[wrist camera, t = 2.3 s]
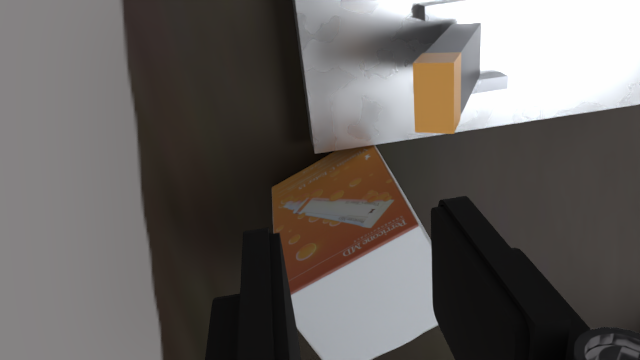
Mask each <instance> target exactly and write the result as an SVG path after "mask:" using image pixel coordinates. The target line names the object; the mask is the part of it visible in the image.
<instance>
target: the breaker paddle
mask: <svg viewBox="0 0 640 360" xmlns="http://www.w3.org/2000/svg"><path fill="white" fill-rule="evenodd" d="M480 55H481V23H461V24H452V25H451V26H450V27H449V28H448V29H447V30H446V31H445V32H444V33H443V34H442V35H441V36H440V37H439V38H438V39H437V40H436V42H435V43H434V44H433V45H432V46H431V47H430V48H429V49H428V50H427V51H426V52H425V53H422V54H421V55H420V56H419V57H418V58H417V59H416V60H415V61H414V62H413V88H414V118H415V132H419V133H444V134H454V132H455V130H456V128H457V126H458V124H459V122H460V120H461V114H462V112H463V110H464V108H465V106H466V104H467V102H468V100H469V97H470V95H471V93H472V91H473V89H474V87H475V85H476V83H477V81H478V79H479V77H480Z"/></svg>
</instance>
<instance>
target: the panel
mask: <svg viewBox="0 0 640 360" xmlns="http://www.w3.org/2000/svg"><path fill="white" fill-rule="evenodd" d="M292 3H293V10H294V18H295V25H296V33H297V40H298V48H299V55H300V63H301V70H302V78H303V86H304V93H305V101H306V108H307V116H308V123H309V131H310V138H311V141H312V145H313V148H314V152H315V154H317V153H324V152H330V151H337V150H343V149H350V148H356V147H363V146H369V145H376V144H383V143H389V142H396V141H402V140H409V139H415V138H422V137H428V136H435V135H441V134H444V133H419V132H415V118H414V88H413V62H414V61H415V60H416V59H417V58H418V57H419V56H420V55H421V54H422V53H425V52H426V51H427V50H428V49H429V48H430V47H431V46H432V45H433V44H434V43H435V42H436V40H437V39H438V38H439V37H440V36H441V35H442V34H443V33H444V32H445V31H446V30H447V29H448V28H449V27H450V26H451V25H452V24H461V23H481V55H480V77H479V79H478V81H477V83H476V85H475V87H474V89H473V91H472V93H471V95H470V97H469V100H468V102H467V104H466V106H465V108H464V110H463V112H462V114H461V120H460V122H459V124H458V126H457V128H456V130H455V132H461V131H468V130H474V129H481V128H487V127H494V126H500V125H507V124H513V123H520V122H526V121H533V120H540V119H546V118H553V117H559V116H566V115H572V114H579V113H585V112H592V111H598V110H605V109H612V108H618V107H625V106H631V105H638V104H640V0H292ZM455 132H454V133H455Z"/></svg>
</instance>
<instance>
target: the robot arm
mask: <svg viewBox="0 0 640 360" xmlns="http://www.w3.org/2000/svg"><path fill="white" fill-rule="evenodd" d="M431 250H432V302H433V311H434V315H435V318H436V320H437V323H438V325H439V327H440V329H441V331H442V333H443V335H444V337H445V339H446V341H447V343H448V345H449V347H450V350H451V352H452V354H453V356H454V358H455V360H640V333H637V332H635V331H631V330H627V329H622V328H617V327H600V328H595V329H590V328H589V327H588V326H587V325H586V323H585V322H584V321H583V320H582V319H581V318H580V317H579V315H578V314H577V313H576V312H575V311H574V310H573V309H572V308H571V306H570V305H569V304H568V303H567V302H566V301H565V300H564V298H563V297H562V296H561V295H560V294H559V293H558V292H557V290H556V289H555V288H554V287H553V286H552V285H551V284H550V282H549V281H548V280H547V279H546V278H545V277H544V276H543V274H542V273H541V272H540V271H539V270H538V269H537V268H536V267H535V265H534V264H533V263H532V262H531V261H530V260H529V259H528V257H527V256H526V255H525V254H524V253H523V252H522V251H521V250H520V249H518V248H511V247H510V246H509V245H508V244H507V243H506V242H505V240H504V239H503V238H502V237H501V236H500V235H499V233H498V232H497V231H496V230H495V229H494V227H493V226H492V225H491V224H490V223H489V222H488V220H487V219H486V218H485V217H484V216H483V215H482V213H481V212H480V211H479V210H478V209H477V207H476V206H475V205H474V204H473V203H472V202H471V200H470V199H469V198H468V197H467V196H462V197H456V198H450V199H443V200H440V201H439V204H438V207H435V208H432V209H431ZM205 360H301V358H300V349H299V340H298V333H297V327H296V321H295V316H294V310H293V304H292V299H291V293H290V288H289V282H288V276H287V271H286V265H285V260H284V254H283V248H282V243H281V237H280V233H273V234H270V230H269V228H263V229H256V230H250V231H244V232H243V247H242V267H241V288H240V294H235V295H229V296H223V297H217V298H214V300H213V303H212V309H211V317H210V325H209V333H208V341H207V349H206V357H205Z"/></svg>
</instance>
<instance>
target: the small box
mask: <svg viewBox="0 0 640 360" xmlns="http://www.w3.org/2000/svg"><path fill="white" fill-rule="evenodd" d="M272 208H273V233H280V237H281V243H282V248H283V254H284V260H285V265H286V271H287V276H288V282H289V288H290V293H291V299H292V304H293V310H294V316H295V321H296V327H297V329H298V330H299V331H300V333H301V334H302V335H303V337H304V338H305V339H306V340H307V342H308V343H309V344H310V345H311V347H312V348H313V349H314V351H315V352H316V353H317V354H318V356H319V357H320V358H321V359H322V360H371V359H373V358H375V357H377V356H379V355H382V354H384V353H386V352H388V351H391V350H393V349H395V348H398V347H400V346H402V345H404V344H406V343H408V342H409V341H411V340H413V339H414V338H416V337H418V336H419V335H421V334H422V333H424V332H426V331H428V330H430V329H432V328H434V327H435V326H437V325H438V323H437V320H436V318H435V315H434V311H433V302H432V250H431V240H430V238H429V236H428V234H427V233H426V231H425V229H424V227H423V226H422V224H421V222H420V220H419V219H418V217H417V215H416V213H415V212H414V210H413V208H412V207H411V205H410V203H409V201H408V200H407V198H406V196H405V195H404V193H403V191H402V189H401V188H400V186H399V184H398V183H397V181H396V179H395V177H394V176H393V174H392V172H391V171H390V169H389V167H388V166H387V164H386V162H385V161H384V159H383V157H382V156H381V154H380V152H379V151H378V149H377V148H376V146H375V145H369V146H363V147H356V148H350V149H343V150H337V151H335V152H333V153H331V154H329V155H328V156H326V157H324V158H323V159H321V160H319V161H317V162H316V163H314V164H312V165H311V166H309V167H307V168H305V169H303V170H302V171H300V172H298V173H296V174H295V175H293V176H291V177H289V178H288V179H286V180H284V181H282V182H280V183H279V184H277V185H275V186H273V187H272Z"/></svg>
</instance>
